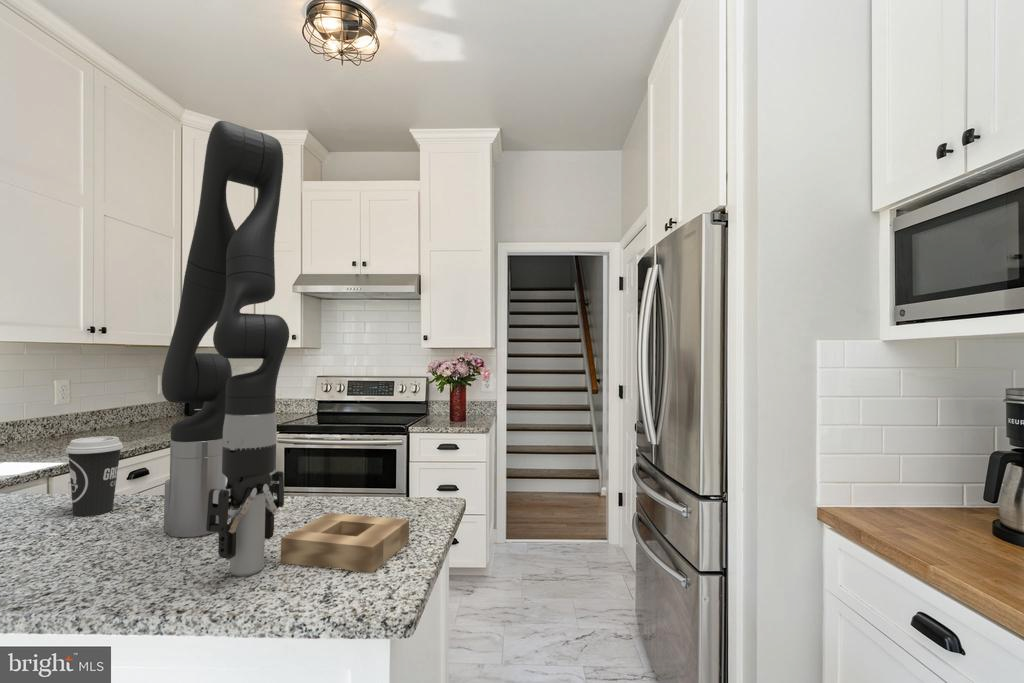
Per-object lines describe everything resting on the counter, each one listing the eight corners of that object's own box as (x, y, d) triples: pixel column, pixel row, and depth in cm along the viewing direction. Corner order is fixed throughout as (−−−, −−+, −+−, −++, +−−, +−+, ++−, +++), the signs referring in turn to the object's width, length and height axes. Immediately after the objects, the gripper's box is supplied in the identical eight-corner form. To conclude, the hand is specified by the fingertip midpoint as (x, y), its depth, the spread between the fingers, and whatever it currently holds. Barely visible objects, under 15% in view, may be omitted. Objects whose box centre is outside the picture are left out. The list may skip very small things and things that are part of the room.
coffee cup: (98, 519, 107) (100, 443, 107) (50, 518, 107) (52, 442, 108) (132, 505, 117) (134, 436, 117) (88, 504, 117) (90, 435, 117)
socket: (280, 563, 87) (281, 537, 87) (328, 534, 100) (328, 512, 100) (372, 573, 83) (372, 547, 83) (408, 542, 97) (409, 519, 97)
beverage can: (250, 578, 80) (251, 498, 81) (221, 575, 81) (223, 495, 82) (270, 566, 85) (272, 490, 85) (243, 563, 86) (245, 488, 86)
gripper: (259, 434, 91) (257, 530, 91) (193, 448, 78) (190, 562, 77) (299, 436, 90) (297, 534, 90) (238, 451, 76) (235, 567, 76)
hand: (247, 547), depth 83 cm, fingers open, 8 cm apart
